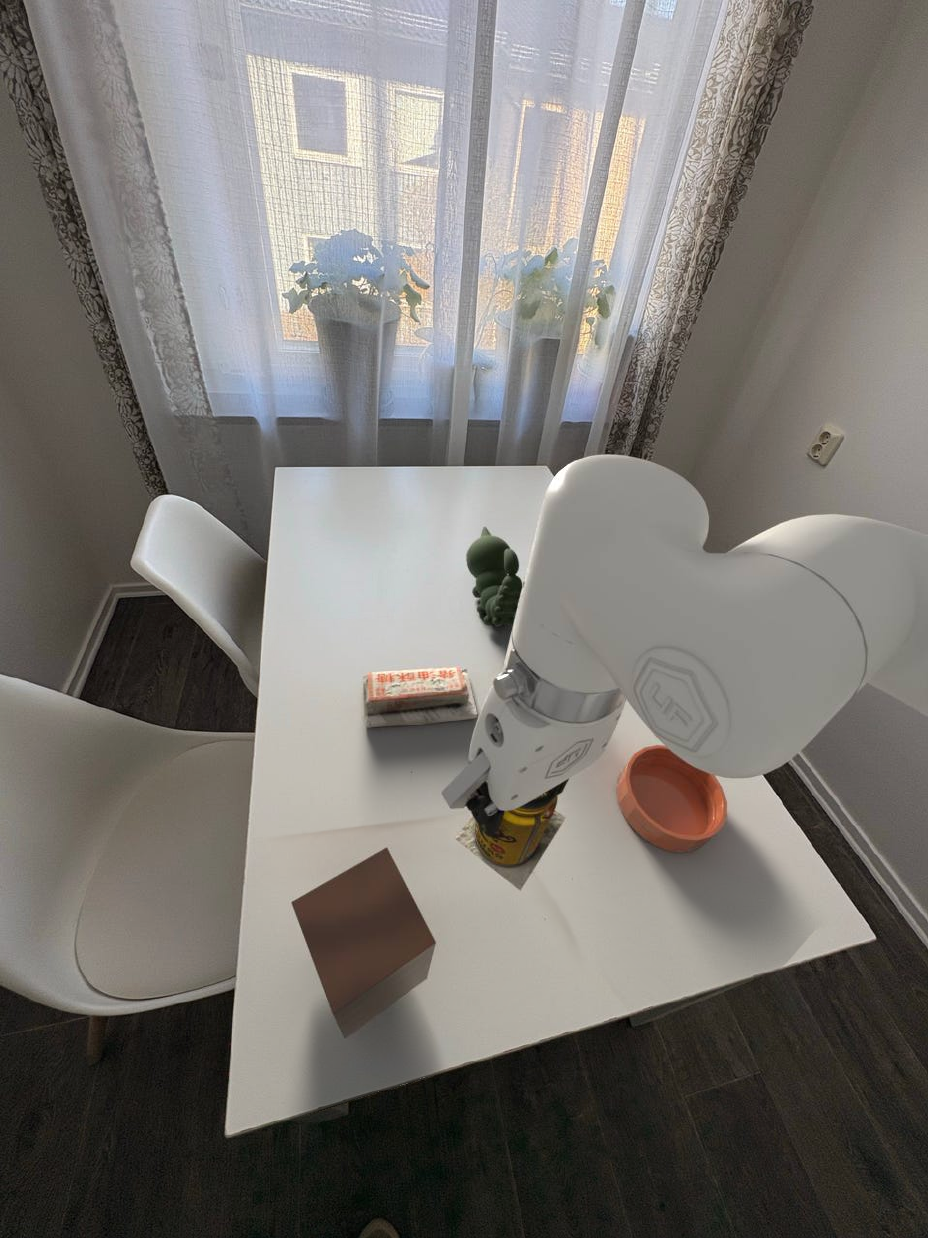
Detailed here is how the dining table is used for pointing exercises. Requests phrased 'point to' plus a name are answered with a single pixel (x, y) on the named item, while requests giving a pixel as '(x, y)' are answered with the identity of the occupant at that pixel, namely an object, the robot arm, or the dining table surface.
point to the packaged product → (417, 697)
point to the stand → (365, 939)
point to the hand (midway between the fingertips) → (517, 797)
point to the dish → (670, 800)
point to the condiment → (516, 838)
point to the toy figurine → (495, 578)
